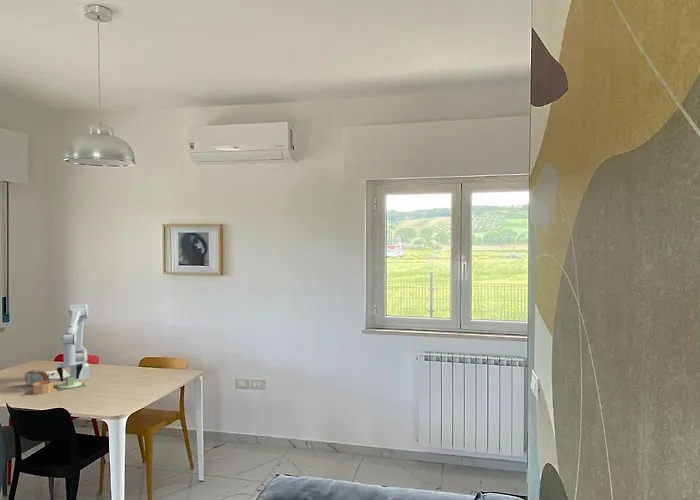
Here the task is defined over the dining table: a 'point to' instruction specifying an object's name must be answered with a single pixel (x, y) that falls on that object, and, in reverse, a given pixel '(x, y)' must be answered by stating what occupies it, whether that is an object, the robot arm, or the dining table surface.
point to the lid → (69, 383)
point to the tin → (35, 377)
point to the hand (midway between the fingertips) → (69, 379)
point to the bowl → (43, 387)
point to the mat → (70, 388)
